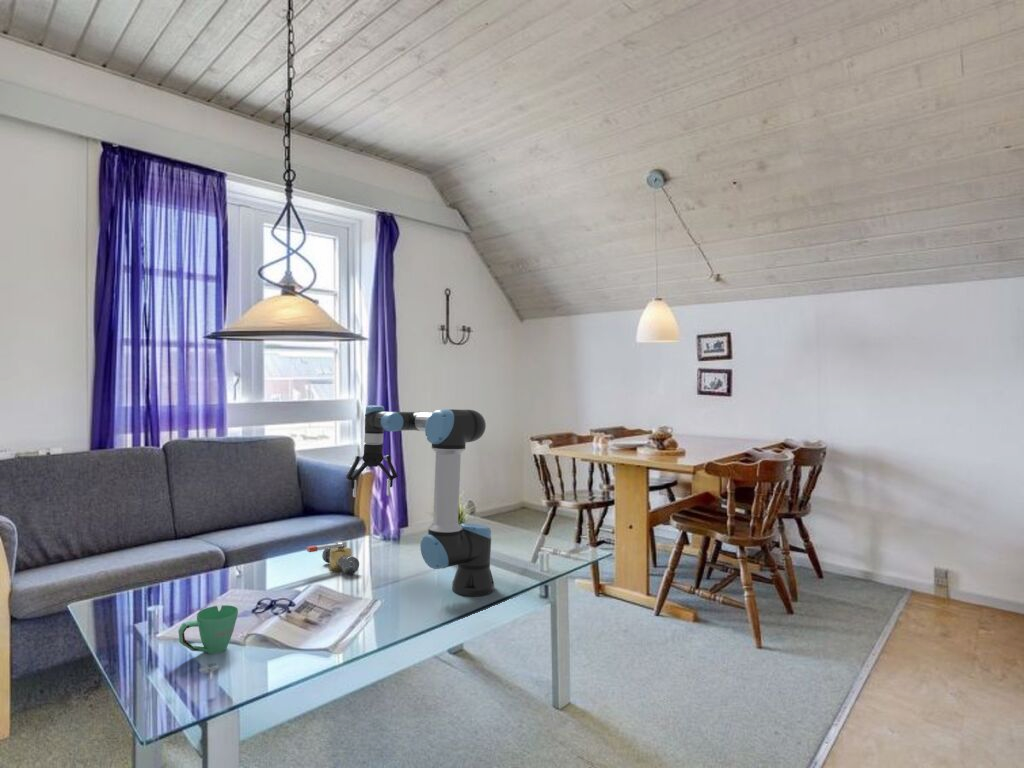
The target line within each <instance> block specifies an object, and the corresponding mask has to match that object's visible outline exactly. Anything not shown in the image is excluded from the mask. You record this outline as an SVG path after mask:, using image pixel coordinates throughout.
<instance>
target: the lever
mask: <svg viewBox="0 0 1024 768" xmlns="http://www.w3.org/2000/svg"><path fill="white" fill-rule="evenodd" d="M344 547H347V548H348V542H347V541H345V540H343V541H341V540H338V541H335V542H334V543H333V542H332V543H327V544H320V545H309V546H308V545H307V546H306V552H308V553H315V552H318V551H324V550H325V549H331V548H344Z"/></svg>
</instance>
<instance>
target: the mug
mask: <svg viewBox="0 0 1024 768" xmlns="http://www.w3.org/2000/svg"><path fill="white" fill-rule="evenodd" d="M238 614H239V608H238V607H236V606H233V605H229V604H228V605H226V604H225V605H224V604H222V605H221V607H220V610H219V608H218V605H214V606H209V607H205V608H204V609H201V610H199V611H198V612H197V613H196V620H190V621H186V622H183V623H182V624H181V626H180V627H179V628H178V638H179V639H178V640H179V643H180V644H181V645H182V646H185V647H186V648H188V649H189V650H190V651H192V652H203V653H206V654H208V655H209V654H211V655H213V654H214V655H215V654H221V653H223V652H225V651H226V650H227V648H228V646H229V643H230V642H231V639H232V635H233V632H234V630H235V625H236V622H237V619H238ZM194 627H197V628H198V631H199V636H200V637H199V638H200V640H201V643H202V646H197V645H192V644H191V643H190V642H188V641H187V639H186V637H185V636H186V635H185V631H186V630H187V629H190V628H194Z"/></svg>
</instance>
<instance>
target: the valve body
mask: <svg viewBox="0 0 1024 768" xmlns="http://www.w3.org/2000/svg"><path fill="white" fill-rule="evenodd" d="M321 556H322V560H323V561H324V562H325V563H327V564H329V569H328V570H329V571H330V572H331V571H332V573H344V574H345V575H347V576H351V575H354V574H355V573H357V572H358V570H359V568H360V561H359V559H358V558H357V557H356V556H352V548H351V547H348V546H347V547H344V548H331V549H324V550H322V554H321Z"/></svg>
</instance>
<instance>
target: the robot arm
mask: <svg viewBox="0 0 1024 768" xmlns="http://www.w3.org/2000/svg"><path fill="white" fill-rule="evenodd" d="M486 427H487V425H486V420H485V418H484V416H483V414H481V413H480V412H478V411H477V410H474V409H450V408H444V409H436V410H434V411H433V412H425V411H385V407H384V406H383V405H367V406H366V408H365V414H364V435H363V436H364V441H363V442H364V444H363V455H355V457H354V461H353V463H352V465H351V467H350V469H349V471H348V472H347V474H346V477H345V478H346V479H347V480H350V489H352V498H357V481H358V480H356V479H357V478H358V477H359V476H360V475H361V474H362V472H363V471H364V470H365V469H366V468H367V467H369V468H372V467H375V468H377V467H379V468H380V469H381V470H382V471H383V473H384V475H386V476H387V478H386V496H387V497H389V496H391V488H393V487H394V485H393V483H394V479H397V478H398V473H397V472H396V470H395V468H394V465H393V463H392V460H391V459H392V458H391V455H389V454H386V455H384V452H383V451H384V445H383V443H384V431H387V432H388V433H389V432H394V433H395V432H398V431H401V432H403V431H417V432H424V433H425V436H426V440H427V441H428V443H430V444H431V449H432V450H433V451H434V452H435V469H434V486H433V487H434V489H433V490H434V491H433V513H432V514H433V516H432V517H433V518H432V523H431V524H430V525H429V526H428V529H427V532H428V533H427V534H426V535H424V536H423V537H422V539H421V541H420V554H421V557H422V560H424V563H425V564H426V565H427V566H428V567H429V568H431V569H433V570H441V569H446V568H449V567H453V566H457V567H456V571H455V574H454V577H453V580H452V583H451V590H452V591H453V592H454V593H455V594H458V595H462V596H468V597H479V596H485V595H489V594H491V593H493V592H494V591H495V582H494V578H493V575H492V570H491V551H492V550H491V547H492V531H491V528H490V527H489V526H486V525H483V524H479V523H472V522H470V523H469V522H463V523H462V522H461V523H459V509H460V508H459V507H460V506H459V505H460V485H461V484H460V482H461V480H460V479H461V456H462V455H461V454H462V453H463V452H464V451H465V450H466V443H473V442H476V441H478V440H479V439H481V438H482V437H483V435H484V433H485V431H486ZM361 461H363V463H362V464H361V466H360V467H359V468H358V469H357V470H356V468H357V467H358V465H359V463H360V462H361ZM383 461H385V462H386V463H387V467H389V470H390V472H389V471H388V469H387V468H386V467H385V466H384V464H383V463H382V462H383ZM355 470H356V471H355Z"/></svg>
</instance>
